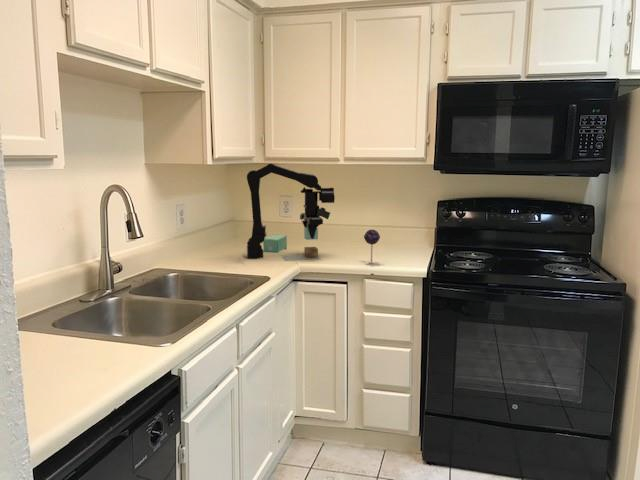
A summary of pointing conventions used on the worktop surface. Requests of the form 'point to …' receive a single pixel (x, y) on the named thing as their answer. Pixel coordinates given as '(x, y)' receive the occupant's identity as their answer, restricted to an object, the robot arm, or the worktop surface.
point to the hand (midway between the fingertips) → (310, 237)
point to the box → (275, 243)
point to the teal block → (307, 235)
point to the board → (296, 257)
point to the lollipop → (371, 238)
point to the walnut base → (311, 252)
